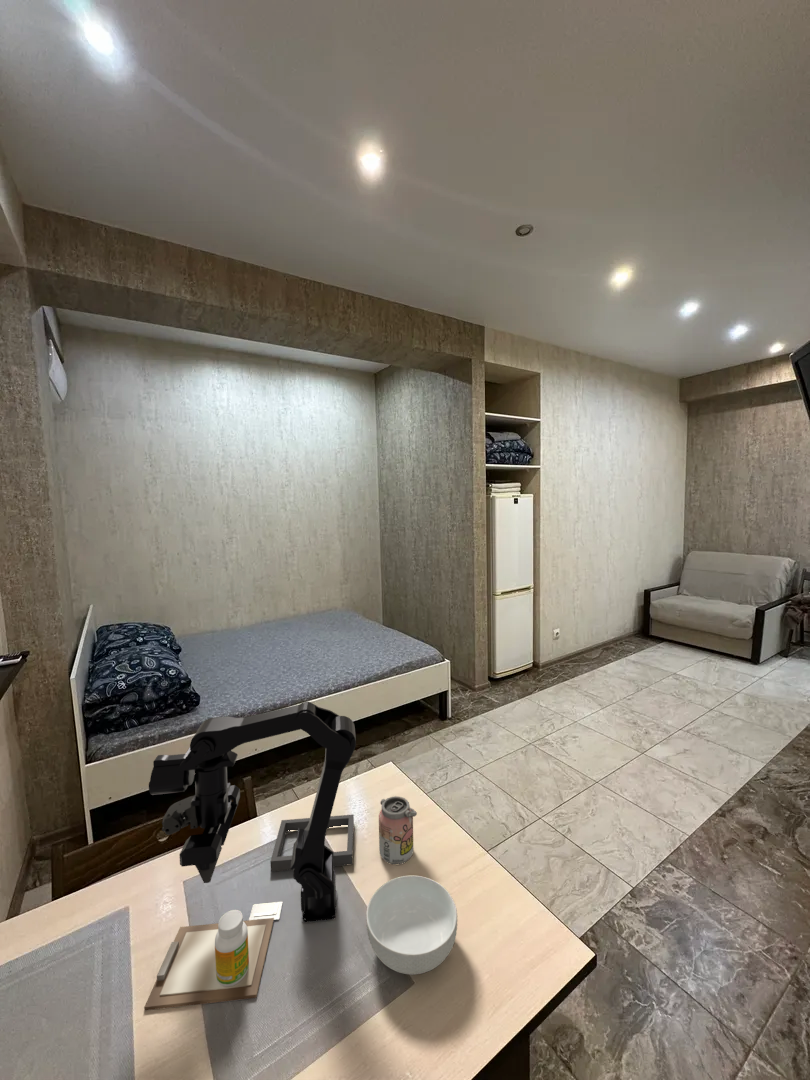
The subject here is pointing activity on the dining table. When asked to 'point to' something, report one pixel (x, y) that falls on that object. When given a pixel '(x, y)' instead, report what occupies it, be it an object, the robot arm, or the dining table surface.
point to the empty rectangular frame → (293, 824)
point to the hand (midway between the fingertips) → (214, 862)
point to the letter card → (266, 911)
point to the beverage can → (396, 830)
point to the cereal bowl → (411, 924)
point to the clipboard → (206, 968)
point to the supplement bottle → (231, 949)
